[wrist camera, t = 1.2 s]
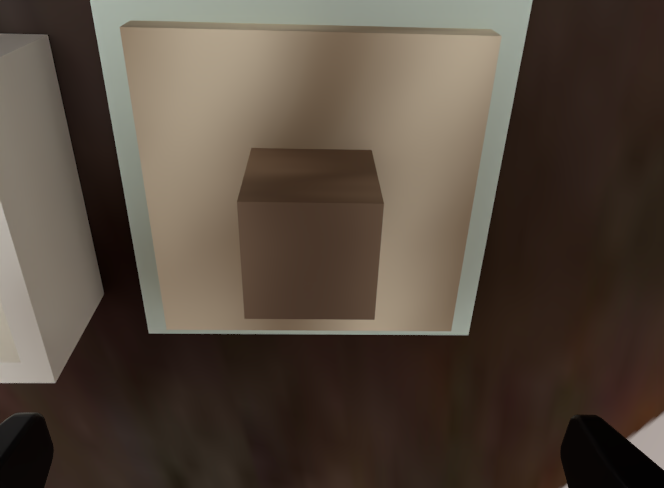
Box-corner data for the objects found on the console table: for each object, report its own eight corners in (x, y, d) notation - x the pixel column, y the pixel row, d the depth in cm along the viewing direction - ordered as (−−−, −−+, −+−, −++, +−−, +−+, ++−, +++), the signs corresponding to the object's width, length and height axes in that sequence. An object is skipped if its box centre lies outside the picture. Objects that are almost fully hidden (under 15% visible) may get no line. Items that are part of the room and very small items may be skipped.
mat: (529, -11, 16) (534, -9, 15) (466, 328, 22) (468, 335, 22) (91, -23, 15) (86, -21, 15) (151, 326, 21) (148, 333, 21)
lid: (491, 29, 16) (548, 68, 12) (445, 314, 21) (474, 405, 17) (130, 20, 16) (69, 57, 12) (172, 312, 21) (139, 405, 17)
